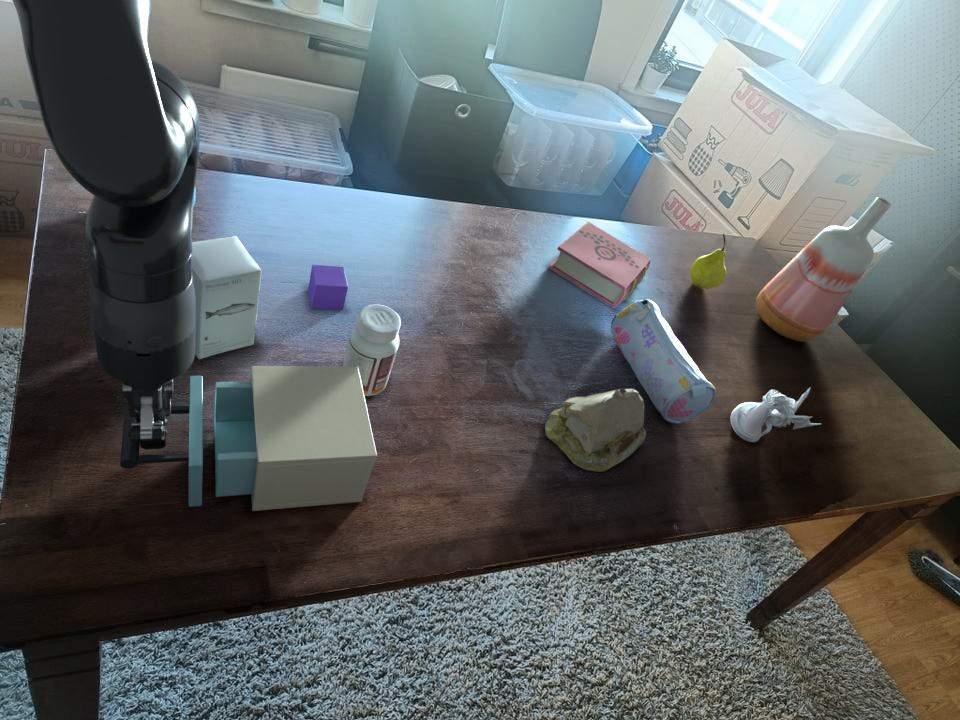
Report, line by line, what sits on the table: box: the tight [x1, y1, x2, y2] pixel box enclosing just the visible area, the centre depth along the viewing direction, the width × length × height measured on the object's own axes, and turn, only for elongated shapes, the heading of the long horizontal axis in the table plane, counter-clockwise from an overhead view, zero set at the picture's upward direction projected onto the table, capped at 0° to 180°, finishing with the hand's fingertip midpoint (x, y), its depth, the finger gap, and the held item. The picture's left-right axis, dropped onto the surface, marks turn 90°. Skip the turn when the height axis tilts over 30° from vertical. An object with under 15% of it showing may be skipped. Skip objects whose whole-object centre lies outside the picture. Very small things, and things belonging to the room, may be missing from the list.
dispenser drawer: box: [119, 375, 257, 507], centre depth 65 cm, size 16×11×7 cm
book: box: [547, 221, 652, 310], centre depth 119 cm, size 14×15×5 cm
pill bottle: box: [342, 303, 402, 397], centre depth 80 cm, size 6×6×11 cm
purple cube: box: [308, 264, 349, 311], centre depth 91 cm, size 4×4×4 cm
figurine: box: [729, 386, 821, 443], centre depth 96 cm, size 11×8×12 cm
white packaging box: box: [192, 235, 262, 360], centre depth 77 cm, size 7×7×13 cm
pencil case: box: [610, 298, 717, 425], centre depth 100 cm, size 21×9×10 cm, turn 16°
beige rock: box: [544, 387, 647, 473], centre depth 86 cm, size 14×11×10 cm
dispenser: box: [249, 365, 378, 512], centre depth 69 cm, size 12×13×9 cm
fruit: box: [689, 233, 727, 290], centre depth 127 cm, size 7×7×12 cm
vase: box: [755, 196, 892, 343], centre depth 120 cm, size 14×14×30 cm
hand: (153, 443), depth 63 cm, fingers closed
